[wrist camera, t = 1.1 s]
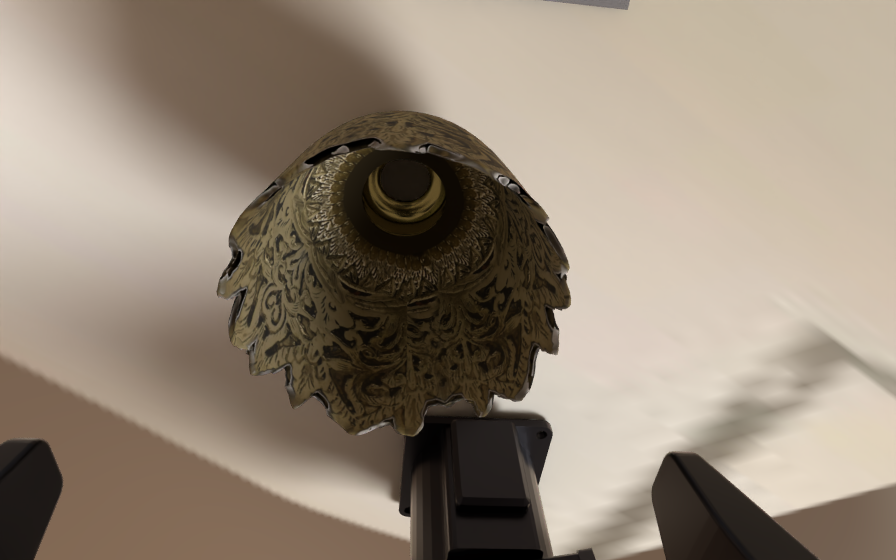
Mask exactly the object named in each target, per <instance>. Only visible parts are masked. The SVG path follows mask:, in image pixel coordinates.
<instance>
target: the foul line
mask: <svg viewBox="0 0 896 560" xmlns="http://www.w3.org/2000/svg"><path fill="white" fill-rule="evenodd" d="M545 1H554V2H563V3H572V4H581V5H589V6H598V7H607V8H616V9H625V10H628V6H629V2H630V0H545Z"/></svg>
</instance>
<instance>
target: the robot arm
mask: <svg viewBox="0 0 896 560" xmlns="http://www.w3.org/2000/svg"><path fill="white" fill-rule="evenodd" d="M423 422H424V426H423V428H422V429H421V431H420V432H419V433H418V434H417V435H415V436H406V435H405V443H404V454H403V466H402V477H401V488H400V499H399V512H400V514H401V515H403V516H407V517H411V527H410V560H595V557H594V554H593V551H592V548H587V549H581V550H577V553H573V554H566V555H560V556H554V557H553V552H552V547H551V543H550V538H549V534H548V529H547V525H546V520H545V516H544V511H543V507H542V502H541V498H540V493H539V489H538V484H539V481H540V477H541V474H542V470H543V467H544V463H545V460H546V456H547V453H548V450H549V446H550V443H551V439H552V436H553V432H552V429H551V425H550V424H549V423H548V422H547V421H543V420H520V419H494V418H467V417H441V416H425V417H424V421H423ZM540 431H542V432H540ZM62 487H63V477H62V474H61V472H60V469H59V467H58V464H57V462H56V460H55V457H54V455H53V452H52V450H51V448H50V445H49V443H48V442H47V441H45V440H44V439H41V438H13V439H10V440H7V441H6V442H3V443H2V444H0V560H34V558H35V556H36V554H37V551H38V549H39V546H40V544H41V541H42V539H43V536H44V534H45V531H46V529H47V527H48V524H49V522H50V520H51V517H52V515H53V512H54V510H55V507H56V505H57V503H58V500H59V498H60V495H61V492H62ZM652 502H653V506H654V511H655V515H656V519H657V523H658V527H659V531H660V536H661V540H662V544H663V548H664V552H665V556H666V560H820V559H819V558H818V557H817V556H815V555H814V554H813V553H812V552H811V551H810V550H809V549H807V548H806V547H805V546H804V545H803V544H802V543H800V542H799V541H798V540H797V539H796V538H795V537H793V536H792V535H791V534H790V533H789V532H788V531H786V530H785V529H784V528H783V527H782V526H781V525H780V524H778V523H777V522H776V521H775V520H774V519H773V518H771V517H770V516H769V515H768V514H767V513H766V512H765V511H763V510H762V509H761V508H760V507H759V506H758V505H756V504H755V503H754V502H753V501H752V500H751V499H749V498H748V497H747V496H746V495H745V494H744V493H743V492H741V491H740V490H739V489H738V488H737V487H736V486H734V485H733V484H732V483H731V482H730V481H729V480H727V479H726V478H725V477H724V476H723V475H722V474H720V473H719V472H718V471H717V470H716V469H715V468H714V467H712V466H711V465H710V464H709V463H708V462H707V461H705V460H704V459H703V458H702V457H701V456H699V455H698V454H696V453H694V452H677V451H672V452H669V453H668V454H666V455H665V457H664V459H663V462H662V464H661V466H660V469H659V471H658V474H657V476H656V478H655V481H654V483H653V486H652Z"/></svg>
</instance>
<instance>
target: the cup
mask: <svg viewBox="0 0 896 560" xmlns="http://www.w3.org/2000/svg"><path fill="white" fill-rule="evenodd" d="M400 159H407V160H413V161H417V162H420V163H422V164H424V165H425V166H426V168H427V170H428V172H429V176H430V183H429V187H428V189H427V191H426V192H425V194H424V195H423V196H422V197H420V198H419V199H417V200H415V201H412V202H400V201H396V200H394V199H392V198H391V197H389V196H388V195H387V194H386V192H385V191H384V189H383V188H382V185H381V172H382V170H383V168H384V166H385V165H386V164H387V163H388V162H390V161H393V160H400ZM548 220H549V217H548V215H547V214H546V212H545V211H544V210H543V209H542V207H541V206H540V205H539V204H538V203H537V202H536V201H535V200H534V199H533V198H531V196H530V195H529V194H528V193H527V191H526V190H525V189H524V188H523V186H522V185H521V184H520V183H519V181H518V180H517V179H516V178H515V176H514V175H513V174H512V173H511V171H510V170H509V169H508V168H507V167H506V166H505V164H504V163H503V162H502V161H501V160H500V159H499V158H498V157H497V155H496V154H495V153H494V152H493V151H492V150H491V149H490V148H488V147H487V146H486V145H485V144H484V143H483V142H482V141H481V140H479V139H478V138H477V137H475V136H474V135H472V134H471V133H469V132H468V131H467V130H465V129H463V128H461V127H460V126H458V125H456V124H454V123H452V122H450V121H447V120H445V119H442V118H439V117H436V116H432V115H428V114H424V113H418V112H409V111H390V112H381V113H375V114H370V115H366V116H363V117H360V118H357V119H354V120H352V121H350V122H347V123H345V124H343V125H341V126H339V127H337V128H336V129H334V130H332V131H331V132H329V133H327V134H326V135H324V136H323V137H322V138H321V139H319V140H318V141H317V142H315V143H314V144H313V145H312V146H310V147H309V148H308V149H307V150H306V151H305V152H304V153H303V154H301V155H300V156H299V157H298V158H297V159H296V160H295V161H294V162H293V163H292V164H291V165H290V166H289V167H288V168H287V169H286V170H285V171H284V172H283V173H282V174H281V175H280V176H279V177H278V178H277V179H276V180H275V181H274V182H273V183H272V184H271V185H270V186H269V187H268V188H267V189H266V190H265V191H264V192H263V193H262V194H260V195H259V196H258V197H257V198H256V199H255V200H254V201H253V202H252V203H251V204H250V205H249V206H248V207H247V208H246V209H245V210H244V212H243V213H242V214H241V215H240V217H239V218H238V220H237V222H236V223H235V225H234V227H233V229H232V230H231V233H230V236H229V247H230V248H231V252H232V259H231V261H230V263H229V265H228V266H227V267H226V269H225V270H224V272H223V274H222V276H221V277H220V280H219V284H218V289H217V295H218V297H221V298H224V299H226V300H228V299H232V298H233V297H234V296H236V299H235V301H234V304H233V307H232V310H231V315H230V318H229V322H228V326H229V337H230V341H231V342H232V345H233V346H236V347H237V348H239V349H240V350H241V349H246V350H247V351H246V354H248V355H249V369H250V374H251V375H254V376H258V375H265V374H268V373H273V374H275V373H277V372H279V371H281V370H282V369H283V368H284V369H285V371H286V373H285V377H286V384H285V387H286V389H287V392H288V394H289V399H290V403H291V406H292V408H293V409H297V408H298V407H299V406H301V405H302V404H304V403H305V402H306V401H307V400H308V399H309V398H311V397H315V398H316V399H317V400H318V401H319V402H321V403H322V404H323V406H324V407H325V409H326V413H327V416H329V417H330V418H331V419H333V420H334V421H335V422H336V423H338V424H339V425H340V426H341V427H342V428H343V429H344V430H345V431H346V432H347V433H349V434H351V435H362V434H365V433H367V432H369V431H371V430H374V429H376V428H382V427H384V426H387V425H391V426H392V427H393V428H394V429H395V431H396V432H397V433H398V434H402V435H406V436H415V435H417V434H418V433H419V432H420V431H421V429H422V428H423V426H424V422H423V421H424V417H425V414H426V412H427V410H428V408H429V406H430V407H431V406H436V405H441V406H444V407H446V408H448V407H451V406H452V405H453V404H455V403H456V402H457V401H461V400H459V399H465V400H466V401H467V402H468V403H471V404H472V406H473V408H474V412H475V414H476V415H477V416H478V417H485V416H486V415H487V414H488V413H489V412H490V410H491V408H492V405H493V399H494V395H499V396H498V397H501V398H504V399H510V400H512V401H513V402H517V401H522V400H523V398H524V397H525V396H526V394H527V393H528V392H529V390H530V388H531V385H532V382H533V378H534V374H535V366H536V365H535V364H536V358H537V354H538V352H539V349H541V351H545V352H547V353H548V354H553V353H554V355H557V354H558V347H559V328H558V326H557V324H556V321H555V318H554V313H553V310H555V308H556V309H558V310H562V309H567V308H568V307H569V306H570V305H571V297H570V291H569V288H568V286H567V283H566V280H567V276H566V274H565V273H568V270H569V263H568V260H567V257H566V255H565V252H564V250H563V248H562V246H561V244H560V242H559V241H558V239H557V237H556V235H555V234H554V232H553V231H552V229H551V228H550V226H549V225H548V223H547V221H548Z"/></svg>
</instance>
